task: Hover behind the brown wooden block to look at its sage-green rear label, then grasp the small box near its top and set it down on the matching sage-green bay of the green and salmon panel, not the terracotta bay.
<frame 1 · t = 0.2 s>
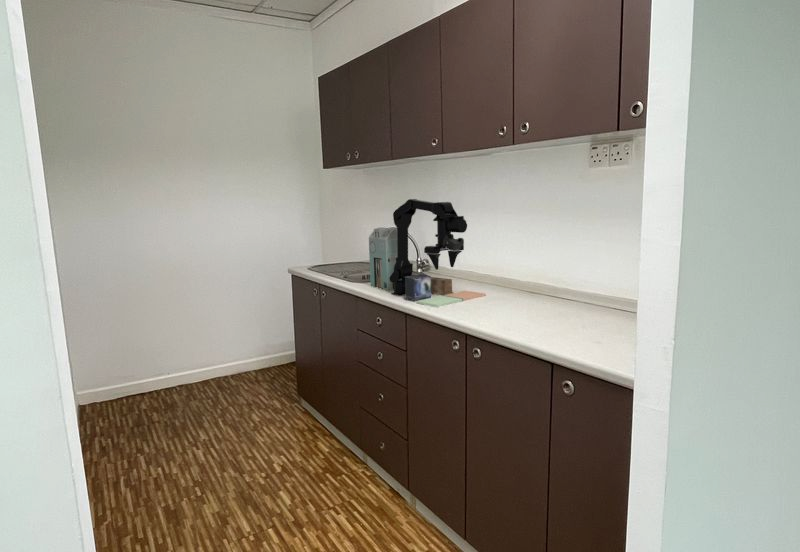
hand: (444, 268, 222), 14 cm above the countertop, fingers open, 9 cm apart
green and salmon panel: (452, 299, 229), on the countertop
device: (385, 288, 263), on the countertop
small box: (418, 299, 232), on the countertop
brown wooden block: (438, 293, 244), on the countertop
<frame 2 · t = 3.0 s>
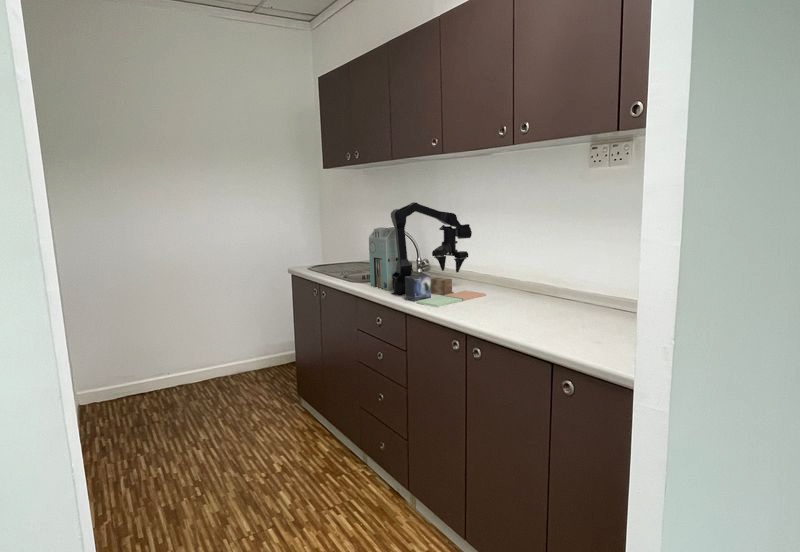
hand: (450, 271, 250), 9 cm above the countertop, fingers open, 9 cm apart
nothing on the countertop moved.
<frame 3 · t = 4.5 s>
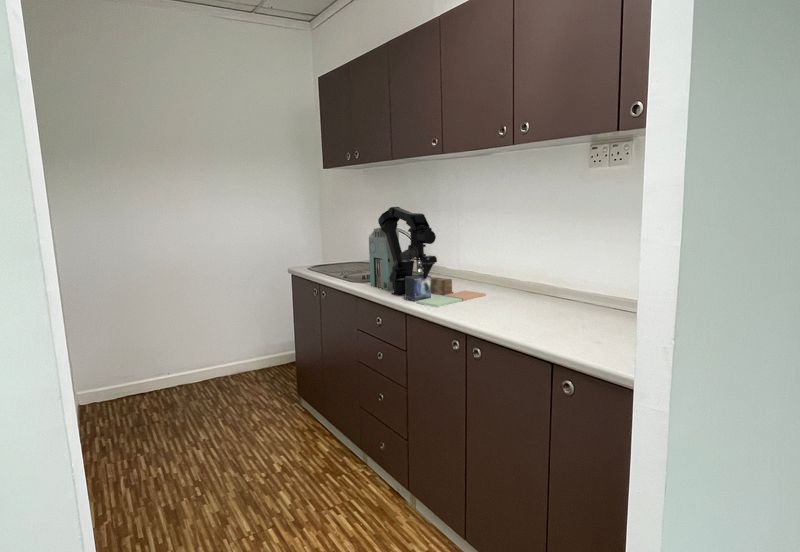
hand: (417, 277, 230), 10 cm above the countertop, fingers open, 9 cm apart
nothing on the countertop moved.
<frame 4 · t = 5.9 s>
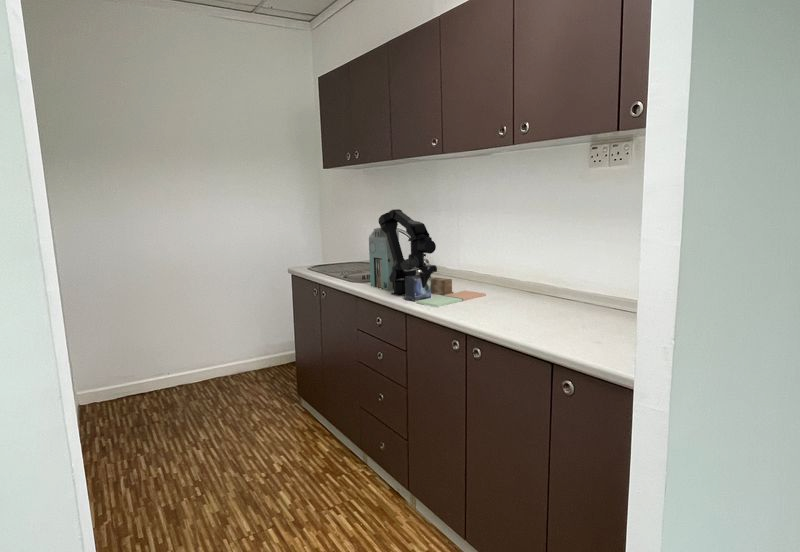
hand: (418, 286, 231), 6 cm above the countertop, fingers closed on small box, 6 cm apart
small box: (418, 299, 232), on the countertop, touching gripper
everything else where it was.
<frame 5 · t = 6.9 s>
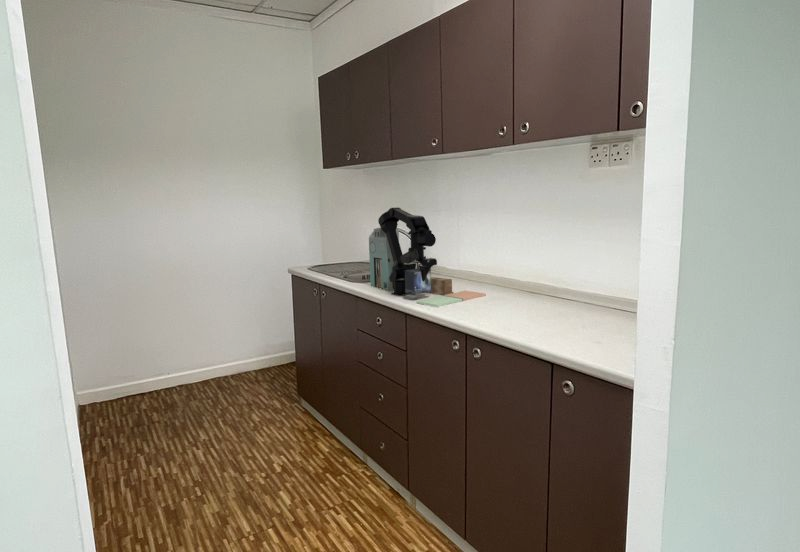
hand: (418, 280, 230), 9 cm above the countertop, fingers closed on small box, 6 cm apart
small box: (418, 293, 231), point 3 cm above the countertop, touching gripper
everything else where it was.
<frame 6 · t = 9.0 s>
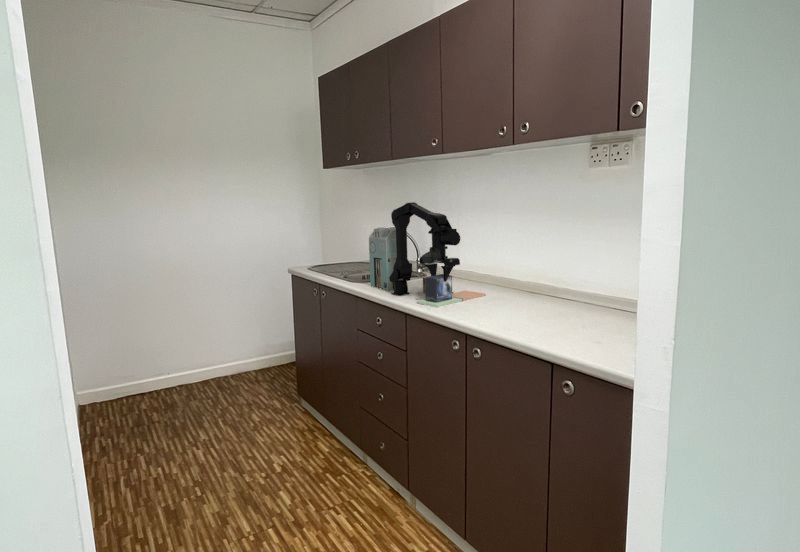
hand: (439, 280, 222), 9 cm above the countertop, fingers open, 6 cm apart
small box: (439, 300, 223), point 1 cm above the countertop, touching green and salmon panel, gripper
everything else where it was.
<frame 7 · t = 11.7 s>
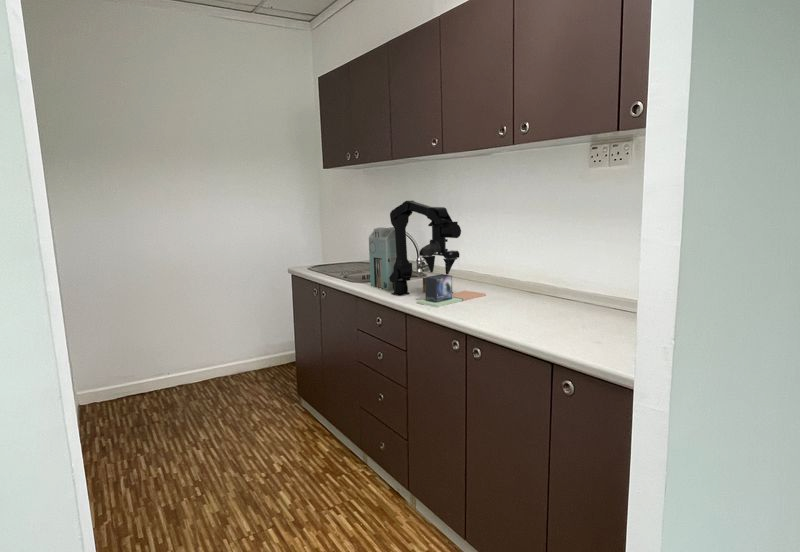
hand: (439, 273, 223), 12 cm above the countertop, fingers open, 9 cm apart
small box: (439, 300, 223), point 1 cm above the countertop, touching green and salmon panel
everything else where it was.
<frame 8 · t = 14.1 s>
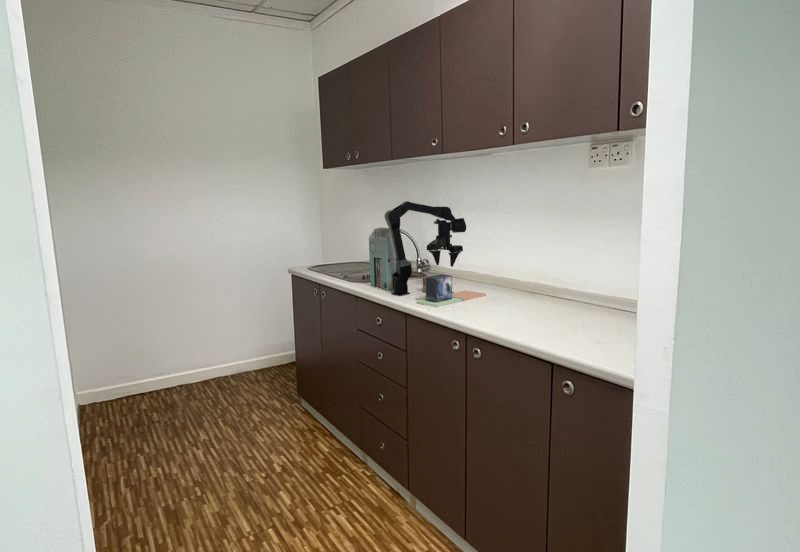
hand: (444, 265, 249), 12 cm above the countertop, fingers open, 9 cm apart
nothing on the countertop moved.
at the end: small box inside the target area (0.4 cm from its centre), point 0.8 cm above the countertop; small box tilted 0°; the gripper is holding nothing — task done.
